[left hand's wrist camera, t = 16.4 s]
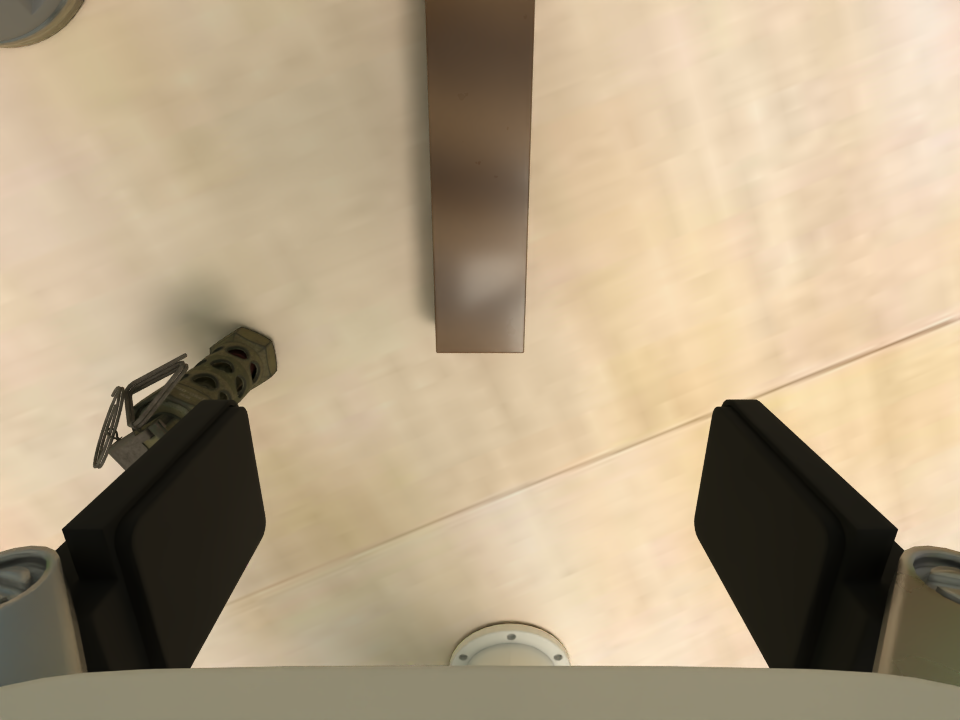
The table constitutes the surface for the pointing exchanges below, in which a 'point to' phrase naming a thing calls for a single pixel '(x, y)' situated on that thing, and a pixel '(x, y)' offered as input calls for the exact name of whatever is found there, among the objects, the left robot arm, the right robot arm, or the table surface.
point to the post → (480, 169)
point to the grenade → (185, 393)
